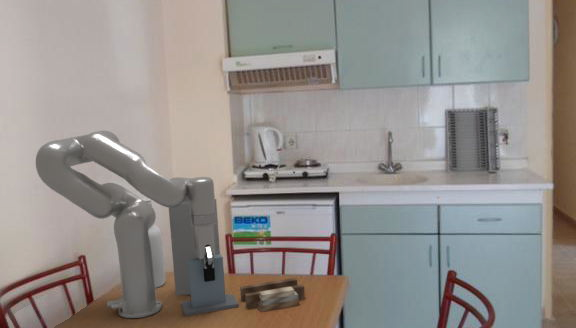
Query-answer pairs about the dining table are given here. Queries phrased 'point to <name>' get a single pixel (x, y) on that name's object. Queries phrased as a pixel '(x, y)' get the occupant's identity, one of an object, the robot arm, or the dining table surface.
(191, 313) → the slate mat
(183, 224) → the grey tall flat block
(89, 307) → the dining table surface
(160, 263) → the alcohol
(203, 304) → the blue grey brick
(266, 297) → the offcut stack
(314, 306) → the dining table surface
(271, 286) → the rack
